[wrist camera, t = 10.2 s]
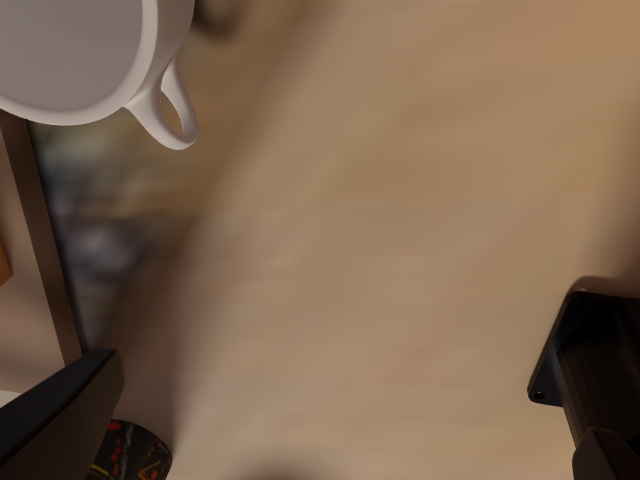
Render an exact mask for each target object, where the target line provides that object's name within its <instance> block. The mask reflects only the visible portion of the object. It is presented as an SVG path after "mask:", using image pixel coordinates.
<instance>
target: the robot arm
mask: <svg viewBox="0 0 640 480" xmlns="http://www.w3.org/2000/svg"><path fill="white" fill-rule="evenodd" d="M578 302H583V303H582V304H581V305H578V306H575V304H576V303H578ZM124 383H125V376H124V371H123V365H122V360H121V355H120V352H119V351H118V350H117V349H113V348H107V347H96V348H94V349H92V350H91V351H89V352H88V353H86V354H84V355H83V356H81V357H80V358H78V359H77V360H75V361H73V362H72V363H70V364H69V365H67V366H66V367H64V368H62V369H61V370H59V371H58V372H56V373H55V374H53V375H51V376H50V377H48V378H47V379H45V380H44V381H42V382H40V383H39V384H37V385H36V386H34V387H33V388H31V389H29V390H28V391H26V392H25V393H23V394H22V395H20V396H18V397H17V398H15V399H14V400H12V401H11V402H9V403H7V404H6V405H4V406H3V407H1V408H0V480H84V478H85V477H86V475H87V473H88V471H89V469H90V467H91V465H92V463H93V461H94V459H95V456H96V454H97V452H98V449H99V447H100V445H101V442H102V440H103V437H104V435H105V432H106V430H107V427H108V425H109V422H110V420H111V418H112V415H113V413H114V410H115V408H116V405H117V403H118V400H119V398H120V396H121V393H122V391H123V388H124ZM538 392H541V393H538ZM527 393H528V397H529V399H530V400H531V401H532V402H535V403H539V404H545V405H552V406H558V407H563V409H564V412H565V415H566V418H567V421H568V425H569V428H570V431H571V434H572V437H573V440H574V444H575V447H576V450H575V452H574V454H573V459H572V468H573V476H574V480H640V299H638V298H622V297H615V296H608V295H601V294H594V293H587V292H574V293H571V294H569V295H568V296H567V297H566V299H565V300H564V303H563V305H562V307H561V310H560V312H559V315H558V317H557V319H556V322H555V324H554V326H553V329H552V331H551V333H550V336H549V338H548V340H547V343H546V345H545V347H544V350H543V352H542V354H541V357H540V359H539V362H538V364H537V366H536V369H535V371H534V373H533V376H532V378H531V380H530V383H529V385H528V387H527Z"/></svg>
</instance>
